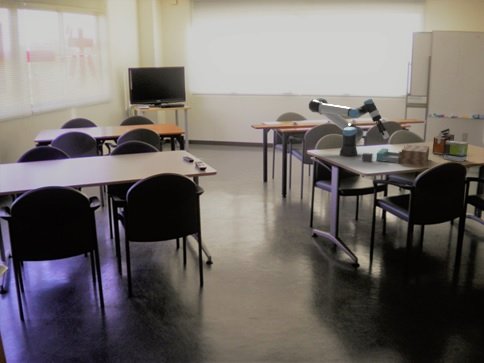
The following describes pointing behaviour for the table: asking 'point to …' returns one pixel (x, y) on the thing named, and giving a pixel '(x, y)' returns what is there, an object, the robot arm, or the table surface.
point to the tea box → (455, 150)
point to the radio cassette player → (442, 141)
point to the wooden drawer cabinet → (414, 155)
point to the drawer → (387, 156)
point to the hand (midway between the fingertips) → (386, 138)
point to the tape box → (367, 157)
